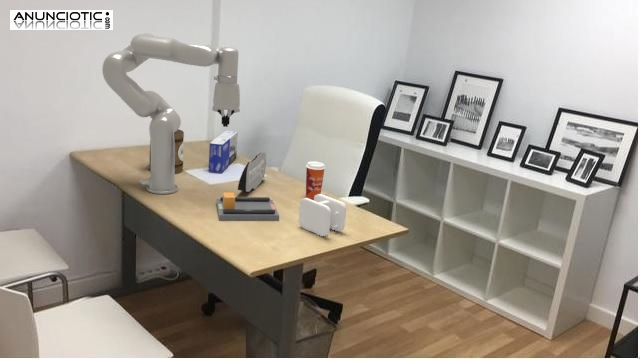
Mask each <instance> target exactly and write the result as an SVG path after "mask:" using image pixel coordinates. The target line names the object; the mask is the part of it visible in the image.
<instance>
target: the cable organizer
mask: <svg viewBox="0 0 640 359" xmlns="http://www.w3.org/2000/svg"><path fill="white" fill-rule="evenodd" d="M346 216H347V204H345V202H344V201H341V200H338V199H335V198H333V197H330V196H327V195H325V194H322V193H321V194H317V195H315V196H314V200H311V199H309V198H306V197H304V198H301V199H300V202H299V214H298V224H299V226H300V227H301V228H303V230H305V231H308V232H312V233H314V234H315V235H316V236H319V235H320V236H319V237H321V236H324V237H326V236H329V234H330V230H331V229H332V230H331V231H334V230H335V231H334V232H336V231H338V232H341V231H343V230H345V226H346Z"/></svg>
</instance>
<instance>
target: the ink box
mask: <svg viewBox="0 0 640 359" xmlns="http://www.w3.org/2000/svg"><path fill="white" fill-rule="evenodd" d="M238 134H239V133H238V131H233V130H225V131H224V132H221V134H220V135H218V136H217V137H216V138H214V139H213V140H212V141H211V142H210V143H209V150H208V151H209V152H208V153H209V154H208V172H209V173H215V174H223V172H225V171H226V169H227V168H228V167H229V166H230V165H232V163H233V162H234V161H235V160H236V159H237V156H238V155H237V152H238V151H237V149H238Z"/></svg>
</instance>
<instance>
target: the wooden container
mask: <svg viewBox="0 0 640 359" xmlns="http://www.w3.org/2000/svg"><path fill="white" fill-rule="evenodd" d="M184 133H185V132H184V131H183V130H181V129H180V128H179V129H178V130H177V131H176V132H174V140H175V175H176V174H181V173H182V172H183V171H184V138H185V134H184ZM149 143H150V144H149V171H150V172H151V141H150V140H149Z"/></svg>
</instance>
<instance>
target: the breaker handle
mask: <svg viewBox="0 0 640 359" xmlns="http://www.w3.org/2000/svg"><path fill="white" fill-rule="evenodd" d="M222 194H223V195H222V197H223V207H224V209H235V197H236V196H235V193H234V192H226V191H225V192H223V193H222Z"/></svg>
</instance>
